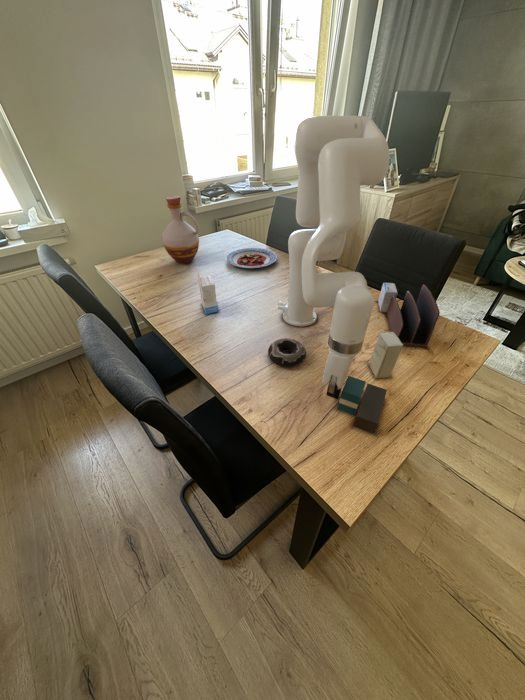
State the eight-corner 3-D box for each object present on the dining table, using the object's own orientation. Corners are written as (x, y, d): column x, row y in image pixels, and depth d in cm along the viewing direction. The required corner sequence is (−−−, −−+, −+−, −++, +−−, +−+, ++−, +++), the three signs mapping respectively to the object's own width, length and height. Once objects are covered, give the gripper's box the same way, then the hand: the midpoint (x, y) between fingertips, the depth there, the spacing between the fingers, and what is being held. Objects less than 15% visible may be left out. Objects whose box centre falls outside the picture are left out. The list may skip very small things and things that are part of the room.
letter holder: (413, 315, 108) (426, 281, 99) (426, 348, 93) (443, 311, 84) (385, 312, 110) (396, 278, 101) (394, 344, 95) (407, 307, 86)
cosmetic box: (368, 364, 87) (378, 331, 80) (382, 363, 88) (393, 331, 80) (376, 378, 83) (387, 346, 75) (391, 377, 83) (404, 345, 75)
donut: (269, 344, 95) (269, 334, 93) (305, 346, 94) (306, 336, 92) (266, 368, 86) (266, 358, 84) (305, 371, 85) (306, 361, 83)
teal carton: (344, 417, 75) (326, 395, 73) (350, 401, 79) (333, 380, 77) (371, 412, 69) (352, 388, 68) (376, 395, 73) (359, 372, 72)
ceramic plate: (277, 271, 139) (277, 265, 137) (224, 271, 139) (223, 265, 137) (276, 251, 158) (276, 246, 156) (229, 251, 159) (229, 246, 157)
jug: (210, 255, 155) (202, 193, 135) (196, 269, 141) (186, 202, 122) (176, 252, 158) (164, 191, 139) (160, 265, 145) (144, 200, 126)
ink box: (218, 312, 111) (214, 276, 101) (205, 314, 109) (200, 278, 100) (213, 301, 117) (209, 267, 107) (201, 304, 116) (196, 269, 106)
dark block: (353, 426, 70) (356, 415, 68) (364, 393, 78) (367, 383, 76) (374, 434, 68) (378, 424, 66) (383, 399, 77) (387, 389, 74)
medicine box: (391, 313, 109) (398, 292, 104) (379, 312, 110) (385, 291, 105) (389, 302, 115) (395, 283, 110) (377, 301, 116) (383, 282, 111)
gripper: (338, 320, 71) (327, 373, 82) (318, 355, 61) (309, 410, 72) (369, 328, 68) (353, 381, 80) (353, 366, 58) (339, 421, 70)
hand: (333, 395), depth 76 cm, fingers closed
